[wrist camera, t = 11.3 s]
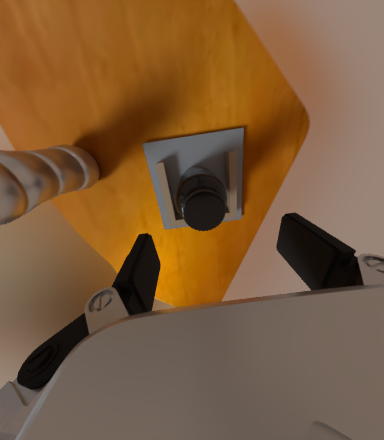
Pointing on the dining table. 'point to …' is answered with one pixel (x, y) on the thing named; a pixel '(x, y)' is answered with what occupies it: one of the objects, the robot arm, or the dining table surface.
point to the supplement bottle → (201, 198)
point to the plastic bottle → (42, 177)
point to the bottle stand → (190, 157)
